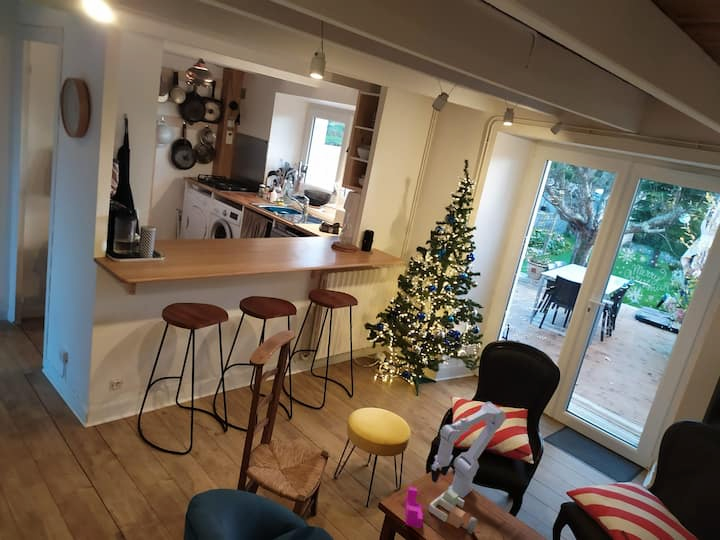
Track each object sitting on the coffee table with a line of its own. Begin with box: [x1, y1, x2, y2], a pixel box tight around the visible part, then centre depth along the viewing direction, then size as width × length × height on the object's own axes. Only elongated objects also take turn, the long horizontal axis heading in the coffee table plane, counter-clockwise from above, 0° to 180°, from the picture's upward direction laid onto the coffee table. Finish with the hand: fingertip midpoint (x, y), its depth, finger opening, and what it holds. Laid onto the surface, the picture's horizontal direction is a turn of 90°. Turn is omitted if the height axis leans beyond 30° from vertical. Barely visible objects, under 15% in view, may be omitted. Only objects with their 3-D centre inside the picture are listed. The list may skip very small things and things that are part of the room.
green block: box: [443, 488, 460, 507], centre depth 234 cm, size 4×5×6 cm
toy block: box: [405, 486, 424, 529], centre depth 224 cm, size 15×6×8 cm, turn 175°
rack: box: [427, 490, 465, 523], centre depth 231 cm, size 16×9×3 cm, turn 140°
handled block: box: [447, 506, 478, 535], centre depth 222 cm, size 4×11×6 cm, turn 56°
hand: (438, 478), depth 236 cm, fingers open, 7 cm apart
